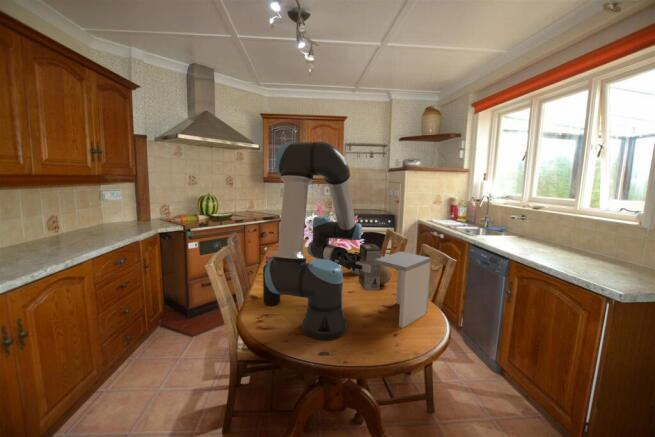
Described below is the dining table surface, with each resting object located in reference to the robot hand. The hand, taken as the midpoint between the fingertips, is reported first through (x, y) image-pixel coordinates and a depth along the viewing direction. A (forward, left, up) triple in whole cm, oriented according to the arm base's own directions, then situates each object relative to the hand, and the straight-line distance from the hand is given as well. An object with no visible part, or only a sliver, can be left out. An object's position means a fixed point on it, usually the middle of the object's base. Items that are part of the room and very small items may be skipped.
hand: (378, 266), depth 116 cm
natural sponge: (+25, +15, -18) cm, 35 cm away
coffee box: (0, +4, -9) cm, 10 cm away
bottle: (-26, +34, -18) cm, 46 cm away
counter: (+4, -8, -18) cm, 20 cm away
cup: (+30, +34, -18) cm, 49 cm away
